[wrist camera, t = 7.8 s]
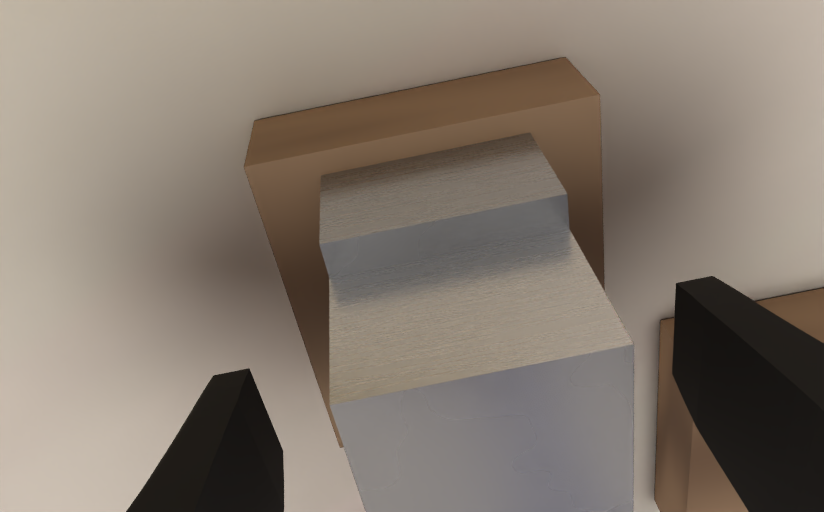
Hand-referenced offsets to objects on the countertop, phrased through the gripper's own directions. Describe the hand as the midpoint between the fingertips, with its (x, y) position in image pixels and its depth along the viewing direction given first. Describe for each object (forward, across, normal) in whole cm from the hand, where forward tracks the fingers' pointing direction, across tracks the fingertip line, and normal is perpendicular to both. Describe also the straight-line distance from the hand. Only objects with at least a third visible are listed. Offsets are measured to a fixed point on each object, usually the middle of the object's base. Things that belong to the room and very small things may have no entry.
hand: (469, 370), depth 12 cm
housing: (+2, 0, 0) cm, 2 cm away
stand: (+4, 0, 0) cm, 4 cm away
